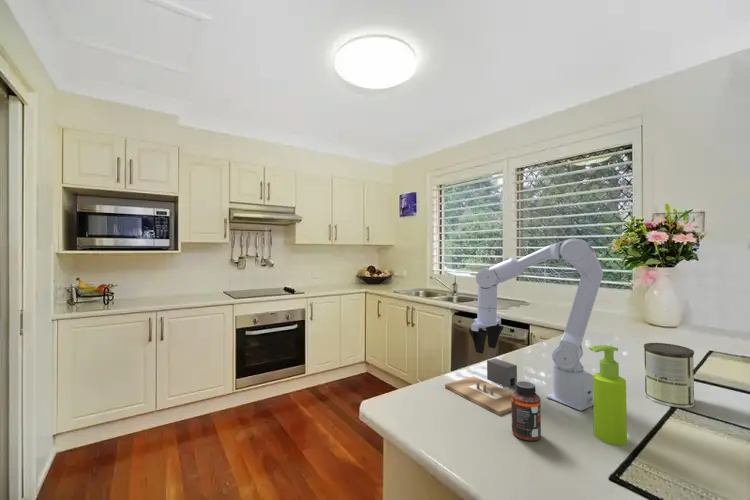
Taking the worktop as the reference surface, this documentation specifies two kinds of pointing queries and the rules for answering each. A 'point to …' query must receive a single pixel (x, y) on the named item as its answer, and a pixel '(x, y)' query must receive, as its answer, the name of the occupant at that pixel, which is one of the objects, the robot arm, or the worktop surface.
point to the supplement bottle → (526, 412)
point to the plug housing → (501, 372)
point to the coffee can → (669, 374)
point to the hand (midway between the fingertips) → (485, 350)
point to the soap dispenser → (609, 399)
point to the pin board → (483, 394)
